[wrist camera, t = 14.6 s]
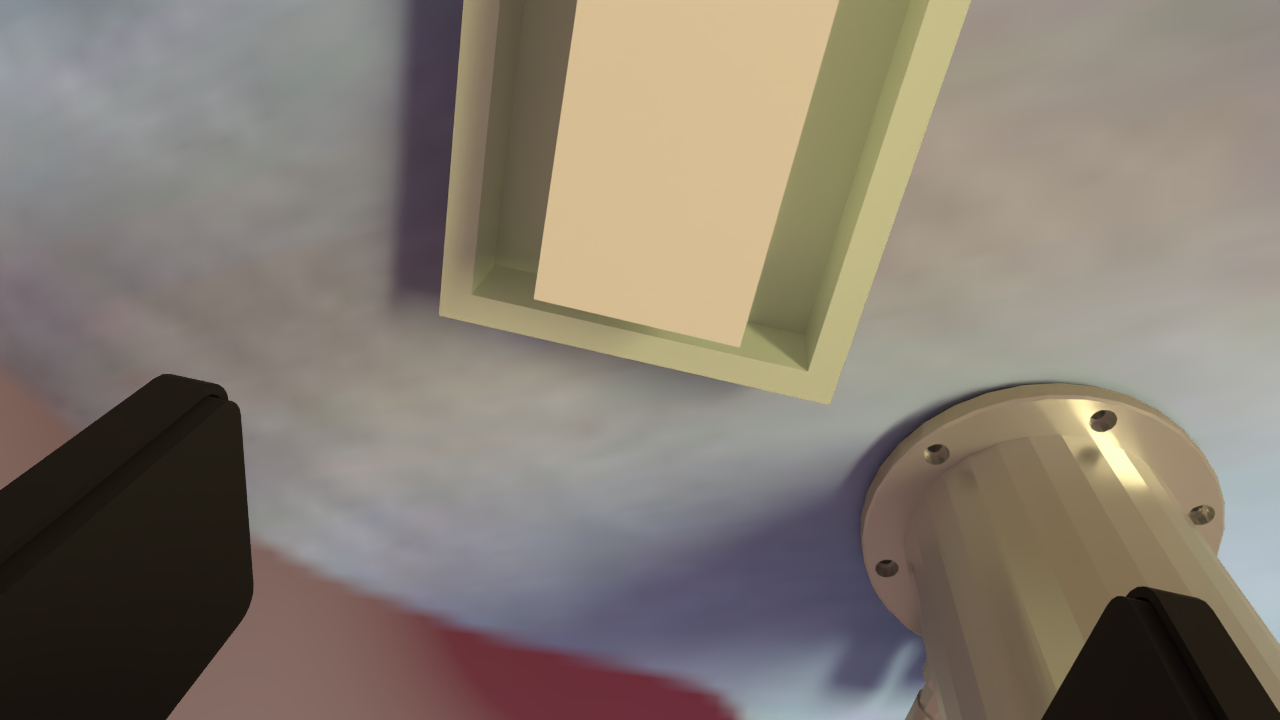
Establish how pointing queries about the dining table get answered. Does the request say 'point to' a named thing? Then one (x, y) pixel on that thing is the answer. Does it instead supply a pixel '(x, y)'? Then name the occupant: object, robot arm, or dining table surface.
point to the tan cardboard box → (676, 156)
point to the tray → (806, 223)
